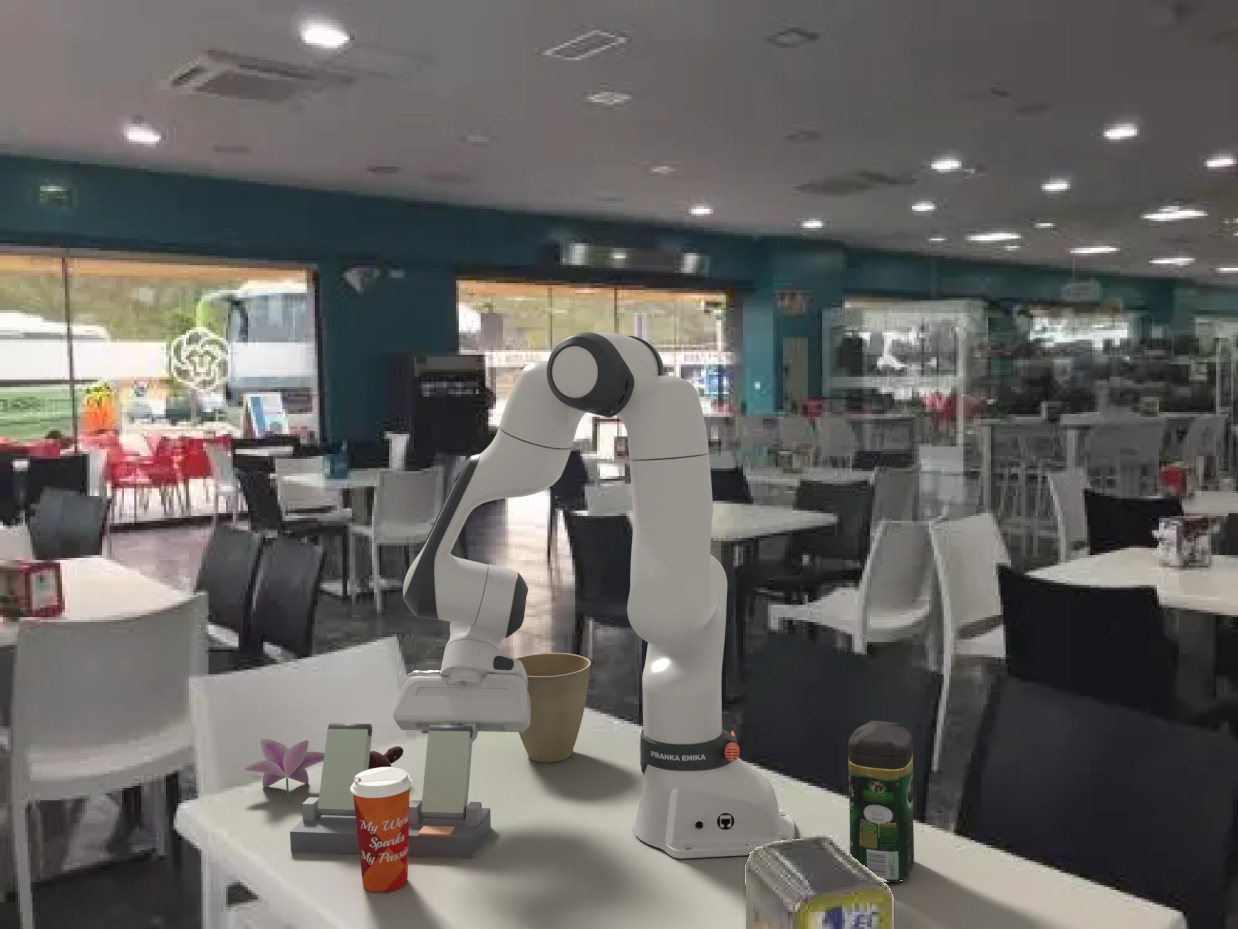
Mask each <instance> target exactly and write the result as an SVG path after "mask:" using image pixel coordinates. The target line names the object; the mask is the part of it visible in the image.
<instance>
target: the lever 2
mask: <svg viewBox="0 0 1238 929" xmlns="http://www.w3.org/2000/svg"><path fill="white" fill-rule="evenodd" d="M427 731H428V733H427V741H426V742H427V744H426V754H425V763H424V764H425V766H424V776H423V786H422V788H423V789H422V798H421V800H422V806H421V816H422V818H430V819H463V820H465V818H466V808H467V806H468V805H469V802H468V801H469V790H470V778H471V765H472V763H471V762H472V752H473V743H474V741H473V727H472V726H453V725H430V727H429V730H427ZM472 742H473V743H472Z"/></svg>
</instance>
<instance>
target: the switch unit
mask: <svg viewBox="0 0 1238 929" xmlns="http://www.w3.org/2000/svg"><path fill="white" fill-rule="evenodd" d="M318 801H319V797H313V796H311V797H310V796H309V797H308V798H306V800H305V801H303V802H302V804H301V805H302V807H301V808H302V810H301V811H302V819H301V820H300V821H299V822H298V823H297V824H296V825H295V826H294V827H293V828H292V829H291V830H290V831H289V839H290V842H289V843H290V844H289V845H290V852H295V853H296V852H298V853H320V852H321V854H322V852H324V853H325V852H326V853H325V854H327V853H328V854H329V853H330V854H349V853H358V854H357V855H359V846H358V836H357V826H356V816H331V815H319V814H318ZM421 806H422V799H420V800H419V799H417V800H415V799H411V800H409V846H408V857H409V856H410V857H411V856H413V857H414V856H415V857H433V858H434V857H438V858H439V857H440V858H444V857H445V858H465V859H466V858H469V859H470V858H471V859H473V858H474V856H475V854H476V853H477V851H478V849H479V848H480V846H481V845H482V843H483V841H484V839H485V838H486V836H487V834H488V833H489V832H490V829H491V827H492V825H491V824H492V823H491V820H492V818H491V807H482V806H483V802H482V801H470V802H468V805H467V808H466V818H465V820H463V819H430V818H422V816H421Z"/></svg>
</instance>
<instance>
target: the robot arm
mask: <svg viewBox="0 0 1238 929" xmlns="http://www.w3.org/2000/svg"><path fill="white" fill-rule="evenodd" d="M701 403H702V402H701V401H700V397H699V394H698V391H697V388H696V387H695V386H694V385H693V384H692V383H691V382H690V381H688V380H687V379H685V378H682V377H680V376H675V375H667V374H665V368H664V363H663V359H662V357H661V356H660V353H659V352H658V350H657V349H656V348H655V347H654V346H653V345H651V343H649V342H647V341H646V340H644V339H642V338H640V337H637V336H634V335H623V334H622V333H621V334H620V333H617V332H614V331H613V332H612V331H599V332H598V331H597V332H590V331H585V332H580V333H576V334H572V335H571V336H569V337H566V338H565V339H563V340H562V341H560V342H559V343H558V344H557V345H556V346H555V347H554V349H552V352H551V353H550V356H549V358H548V360H539V361H534V362H531V363H529V364H527V365H526V366H524V367H523V369H522V370H521V371H520V373H519V375H518V376H517V379H516V380H515V382H514V385H513V387H512V389H511V391H510V393H509V396H508V399H507V401H506V403H505V406H504V409H503V412H502V415H501V417H500V421H499V426H498V428H497V432H496V433H495V434H496V435H495V436H494V438H493V439H492V441H491V443H490V444H488V446H487V447H486V448H485V449H484V450H483V451H482V452H481V453H476V454H474V455H473V454H472V455H470V456H469V457H468V458H467V459H466V461H465V462H464V463H463V465H462V466H461V468H460V469H459V472H458V473H457V475H456V477H455V479H454V481H453V483H452V485H451V488H450V489H449V491H448V493H447V496H446V497H445V499H444V502H443V503H442V506H441V508H440V510H439V511H438V514H437V516H436V518H435V521H434V522H433V525H432V527H431V529H430V531H429V534H427V537H426V539H425V541H424V544H423V546H422V547H421V549H420V551H419V553H418V554H417V556H416V557H415V558H414V560H413V561H412V562H411V565H410V566H409V568H408V570H407V573H406V574H405V577H404V582H403V586H402V599H403V601H404V603H405V604H406V606H407V607H408V609H409V610H410V611H411V613H412V614H413V615H415V617H416V618H418V619H426V620H433V621H434V620H435V621H439V620H440V621H445V622H448V623H449V622H450V624H449V632H450V634H449V635H450V636H449V639H448V642H447V643H446V645H445V648H444V652H443V653H444V654H443V657H442V662H441V665H440V666H441V668H440V670H435V669H434V670H422V669H421V670H420V669H419V670H417V669H416V670H413V671H412V672H410V673H408V674H406V675H405V676H403V678H402V679H401V683H400V687H399V695H398V697H397V700H396V703H395V706H394V708H393V712H392V717H393V719H394V722H395V723H396V725H397V727H399V729H400V730H403V731H429V727H430V725H453V726H472V727H473V742H472V744H473V743H474V742H475V740H476V739H477V738H478V733H479V732H488V733H489V732H491V733H492V732H494V733H519V732H524V731H525V730H526V729H527V728H528V727H529V726H530V718H531V701H530V696H529V693H528V690H527V687H528V678H527V674H526V671H525V668H524V666H523V664H522V663H521V661H519V660H517V659H514V658H515V657H510V656H507V655H505V654H502V643H503V641H504V639H507V638H509V637H510V636H512V635H513V634H514V633H516V632H517V631H518V630H520V629H521V627H522V626H523V623H524V619H525V614H526V604H527V603H526V602H527V596H528V594H529V587H528V585H527V583H526V581H525V579H524V577H523V576H522V575H521V573H519V571H515V570H513V569H511V568H510V569H509V568H506V567H502V566H498V565H493V564H490V563H483V562H478V561H473V560H470V559H465V558H461V557H458V556H455V555H453V554H452V553H451V552H452V550H453V548H454V546H455V543H456V541H457V540H458V537H459V536H460V533H461V531H462V529H463V527H464V525H465V523H466V522H467V519H468V518H469V515H470V514H471V512H472V511H473V510H474V509H476V508H477V507H478V506H480V505H482V504H485V503H488V502H491V501H497V500H502V499H503V500H504V499H512V498H522V497H528V496H531V495H535V494H539V493H540V492H543V491H545V490H547V489H549V488H550V487H552V486H553V485H554V484H556V483H557V481H559V480H560V479H561V477H562V475H563V473H564V470H565V468H566V466H567V463H568V460H569V457H570V455H571V451H572V447H573V444H574V440H575V436H576V434H577V430H578V427H579V425H580V422H581V420H582V418H583V417H584V415H585V414H587V413H588V414H593V415H595V416H600V417H604V418H609V419H610V418H611V419H612V418H613V417H616V416H617V418H619V419H620V421H621V422H622V424H623V425H624V429H625V430H626V431H625V432H626V434H627V435H626V436H627V445H628V448H627V449H628V459H629V460H628V462H629V473H630V474H629V475H630V485H631V497H632V498H631V500H632V515H633V517H632V519H633V522H632V523H633V525H632V539H631V540H632V541H631V551H630V552H631V555H630V575H629V577H630V580H629V582H630V586H629V594H628V599H627V607H626V609H627V610H626V612H627V618H628V621H629V624H630V626H631V628H632V629H633V631H634V632H635V634H636V635H637V636H638V637H639V638H641V639H642V640H643V641H645V642H646V643H647V649H646V657H645V662H644V667H643V672H642V678H641V679H642V680H641V683H642V684H641V686H642V690H641V691H642V725H643V726H642V727H643V728H642V729H641V732H640V736H639V765H640V770H641V774H642V779H641V791H640V798H639V803H638V804H639V805H638V809H637V815H636V818H635V822H634V826H633V832H634V834H635V836H636V837H637V838H638V839H639V840H641V841H642V842H643V843H645V844H647V845H650V846H652V847H655V848H659V849H660V850H662V851H664V852H665V853H667V854H668V855H669V856H671V857H672V858H674V859H695V858H698V859H699V858H715V857H716V858H717V857H732V856H733V857H735V856H749V855H748V854H749V853H750V852H752V851H753V850H754V849H755V848H756V847H759V846H762V845H764V844H767V843H771V842H774V841H781V840H792V839H794V838H795V839H796V829H795V822H794V820H793V817H792V816H791V815H790V813H789V812H788V811H786V810H785V809H784V808H781V807H779V804H778V799H777V794H776V793H775V790H774V788H773V785H772V784H771V782H770V781H769V779H768V778H767V777H766V776H764V775H763V774H762V773H760V772H758V771H757V770H756V769H755V768H753V767H751V766H750V765H749V764H747V763H746V762H745V761H744V760H742V759H741V758H739V757H740V755H741V754H740V750H741V749H740V748H741V747H740V746H739V745H738V741H737V740H738V739H737V737H736V735H735V733H734V730H730V731H731V732H729V731H727V730H726V729H724V728H723V714H722V713H723V708H722V704H723V702H722V694H723V693H722V677H723V676H722V674H723V673H722V672H723V671H722V670H723V661H724V660H723V659H724V648H725V638H726V626H727V625H726V624H727V622H726V621H727V602H728V600H727V599H728V598H727V597H728V578H727V574H726V571H725V569H724V567H723V565H722V563H720V561H719V559H717V558H716V557H714V556H713V555H712V554H711V543H712V539H711V538H712V527H713V526H712V525H713V524H712V522H713V515H714V501H713V490H712V488H713V487H712V472H711V462H710V450H709V440H708V432H707V427H706V422H705V416H704V412H703V407H702V404H701Z"/></svg>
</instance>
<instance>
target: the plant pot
mask: <svg viewBox="0 0 1238 929" xmlns="http://www.w3.org/2000/svg"><path fill="white" fill-rule="evenodd" d="M513 658H514V659H517V660H519V661H521V663H522V664H523V666H524V668H525V671H526V674H527V678H528V687H527V690H528V693H529V696H530V701H531V718H530V726H529V727H528V728H527V729H526V730H525V731H524V732H518V734H519V737H520V740H521V742H522V744H523V747H524V749H525V751H526V752H525V753H526V754H527V757H528V758H529V759H530V760H531V761H534V762H538V763H557V762H561V761H564V760H567V759H569V758H570V757H571V755H572V754H573V751H574V748H575V746H576V742H577V739H578V736H579V732H580V728H581V724H582V720H583V717H584V711H585V707H586V703H587V695H588V689H589V683H590V682H589V681H590V673H591V672H590V671H591V663H592V662H591V661H590V659H589V658H587V657H585V656H581V655H579V654H575V653H566V652H564V653H563V652H545V653H544V652H543V653H534V654H533V653H532V654H527V655H522V656H518V657H513Z"/></svg>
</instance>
